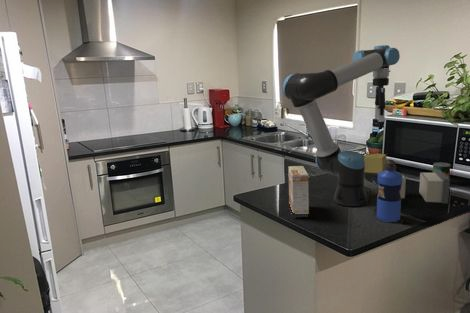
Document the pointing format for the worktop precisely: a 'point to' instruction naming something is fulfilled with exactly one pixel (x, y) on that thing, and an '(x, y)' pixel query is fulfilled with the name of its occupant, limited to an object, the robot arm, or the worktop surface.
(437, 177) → the beige stepped block
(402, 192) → the beige box
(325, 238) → the worktop surface
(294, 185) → the coffeecake box
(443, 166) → the canned tomato
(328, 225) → the worktop surface
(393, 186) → the water bottle
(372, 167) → the cheese
